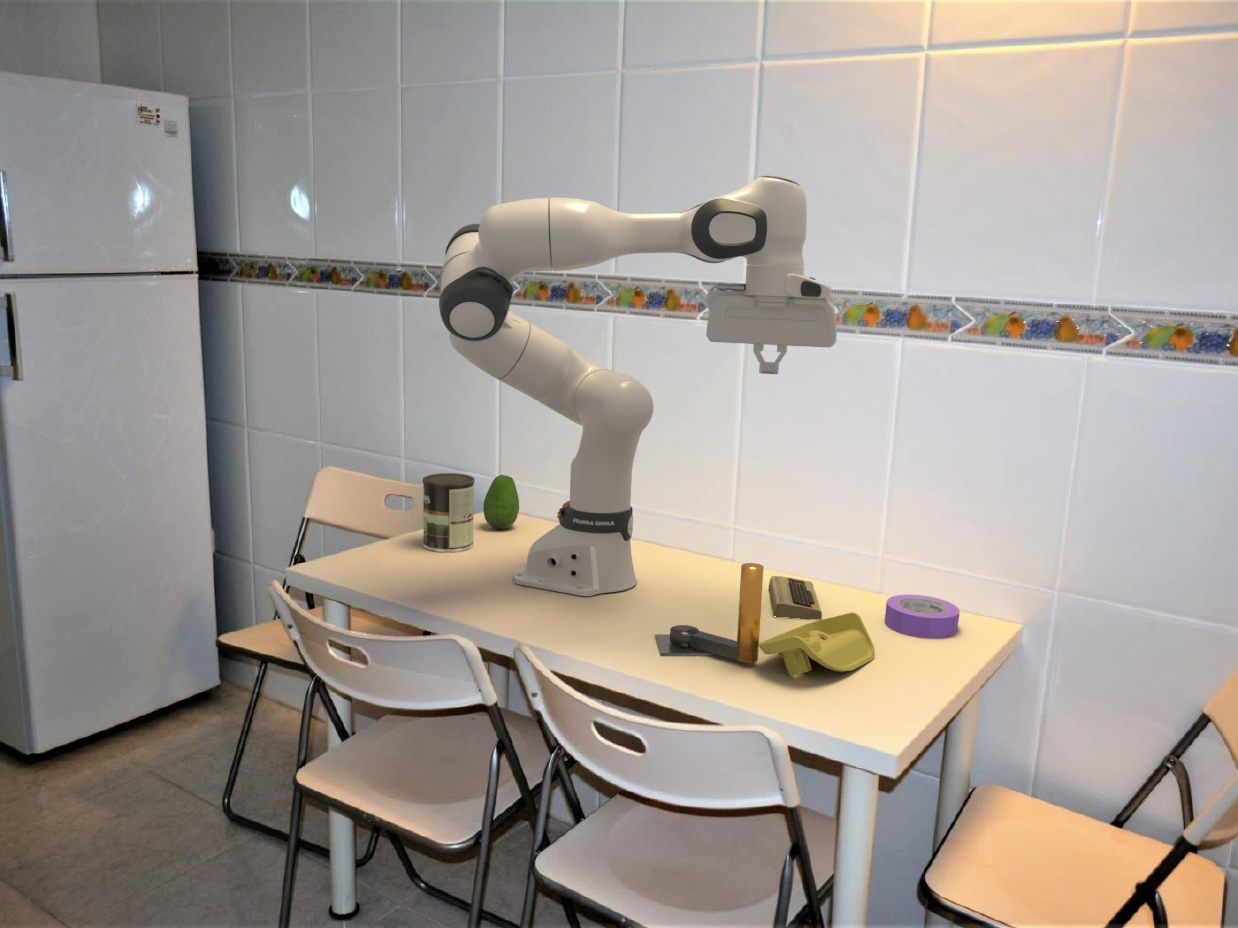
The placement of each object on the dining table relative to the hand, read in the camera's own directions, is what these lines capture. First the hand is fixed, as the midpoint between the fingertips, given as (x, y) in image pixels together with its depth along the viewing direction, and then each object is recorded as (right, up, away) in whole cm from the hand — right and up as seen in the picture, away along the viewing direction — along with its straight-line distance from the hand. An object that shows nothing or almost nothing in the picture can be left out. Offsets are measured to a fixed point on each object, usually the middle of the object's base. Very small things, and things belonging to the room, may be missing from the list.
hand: (768, 373), depth 161 cm
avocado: (-49, -29, +62) cm, 84 cm away
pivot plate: (-14, -42, -4) cm, 45 cm away
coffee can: (-58, -31, +47) cm, 81 cm away
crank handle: (-9, -42, -8) cm, 44 cm away
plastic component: (+5, -44, -9) cm, 46 cm away
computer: (+7, -39, +18) cm, 44 cm away
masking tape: (+27, -42, +8) cm, 50 cm away
